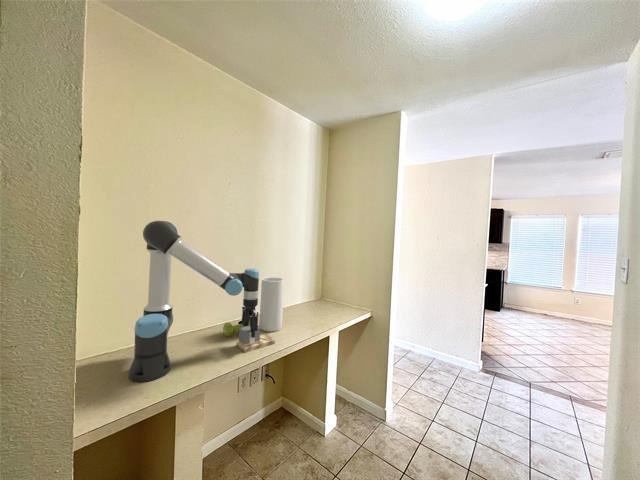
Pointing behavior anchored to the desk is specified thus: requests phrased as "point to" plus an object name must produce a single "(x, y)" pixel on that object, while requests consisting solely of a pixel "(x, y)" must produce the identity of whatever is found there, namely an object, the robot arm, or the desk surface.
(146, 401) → the desk surface
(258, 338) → the block
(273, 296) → the vase
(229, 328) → the dumbbell
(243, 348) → the board
